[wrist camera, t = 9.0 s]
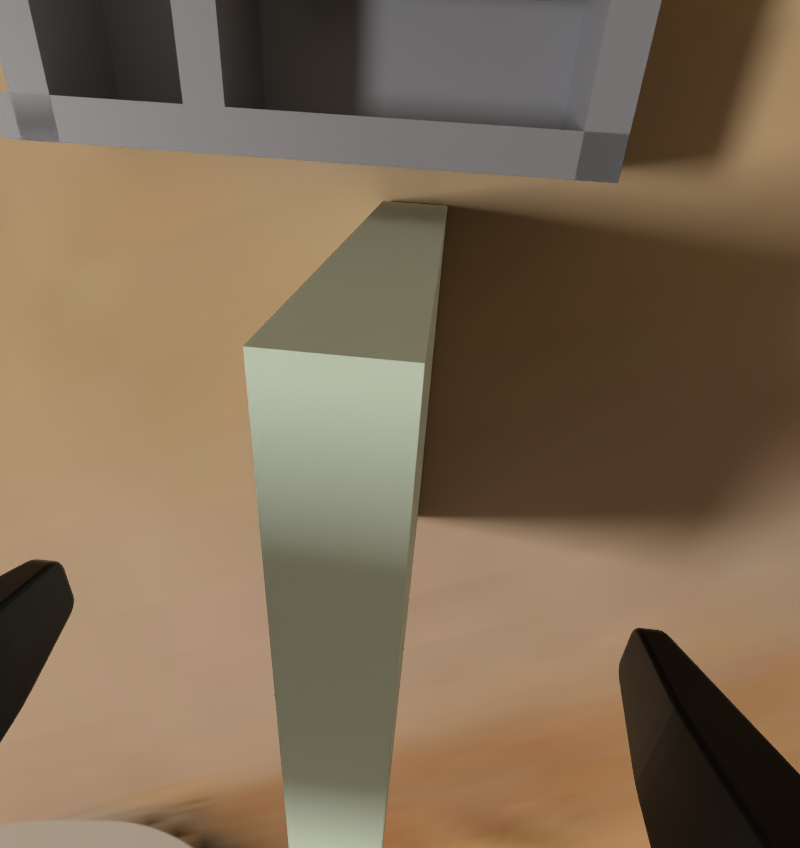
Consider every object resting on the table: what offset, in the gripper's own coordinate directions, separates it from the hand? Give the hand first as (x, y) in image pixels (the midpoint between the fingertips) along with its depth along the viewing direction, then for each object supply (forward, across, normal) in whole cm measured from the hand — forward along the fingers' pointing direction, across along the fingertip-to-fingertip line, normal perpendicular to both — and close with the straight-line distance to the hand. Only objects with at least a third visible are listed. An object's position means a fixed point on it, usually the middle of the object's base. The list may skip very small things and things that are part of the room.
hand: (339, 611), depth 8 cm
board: (+8, 0, 0) cm, 9 cm away
